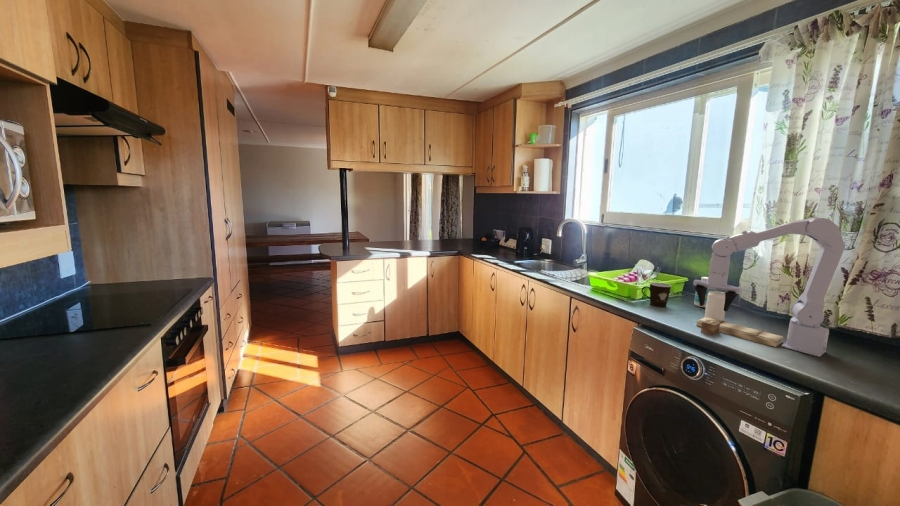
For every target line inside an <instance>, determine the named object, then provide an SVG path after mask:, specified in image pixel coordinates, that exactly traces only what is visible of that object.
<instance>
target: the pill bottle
mask: <svg viewBox="0 0 900 506" xmlns="http://www.w3.org/2000/svg"><path fill="white" fill-rule="evenodd" d="M700 280H702V281H708V276H701V278H700ZM710 290H717V289H713V288H707V291H706V295H705V303H704V305H703V306H700V303H699V297H698V294H697V292H696V291H695V294H694V300H693V301H694V302H693V303H694V305H695V306H696V307H700V308H704V309H706V303H707V296H708V293H709V292H710Z"/></svg>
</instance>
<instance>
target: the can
mask: <svg viewBox="0 0 900 506" xmlns="http://www.w3.org/2000/svg"><path fill="white" fill-rule="evenodd" d="M726 292H727V291H724V290H718V289H716V290H710V292H709V293H708V296H707V303H706V308H705V311H704V318H705V317H708V318H712V319H715V320H719V321H724V320H725V314H726V311H724V304H725V293H726Z"/></svg>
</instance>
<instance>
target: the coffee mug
mask: <svg viewBox="0 0 900 506" xmlns="http://www.w3.org/2000/svg"><path fill="white" fill-rule="evenodd" d="M644 289H648V290H649V296H648V295H646V294H645V292H644ZM671 289H672V285H671V284H668V283H664V282H656V281H655V282H654V281H652V282H649V286H647V285H646V286H643V287H641V290H640V291H641V293H642V295H644V296H645V297H646V298H648V299H649V302H650V303H649V305H650V306H652V307H655V308H662V309H663V308H666V307H667V304H668V300H669V296H670V293H671Z"/></svg>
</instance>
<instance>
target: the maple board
mask: <svg viewBox="0 0 900 506" xmlns="http://www.w3.org/2000/svg"><path fill="white" fill-rule="evenodd" d="M706 320H711V321H715V322H719V323H720V327H719V333H723V334H727V335H730V336H734V337H737V338H741V339H744V340H749V341H751V342H756V343H759V344H763V345H766V346H771V347H773V346H774V348H776V347H777V346H779V345H780V344H781V345H782V343H783V342H784V336H783V335H778V334H774V333H771V332H766V331H764V330H759V329H755V328H750V327H747V326H742V325H739V324H735V323H731V322H727V321H719V320H715V319H712V318H708V317H705V316H704V317H702V318H700V319H698V320H696V326H698V327H702V322H704V321H706Z"/></svg>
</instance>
